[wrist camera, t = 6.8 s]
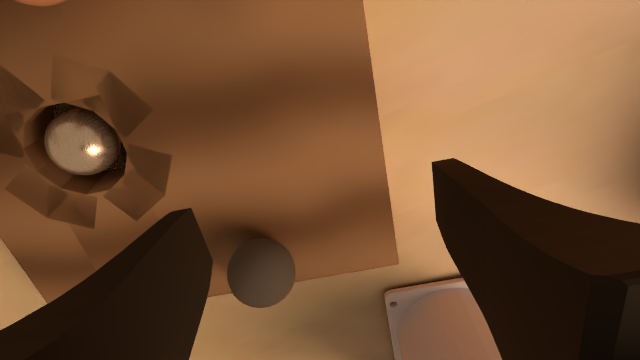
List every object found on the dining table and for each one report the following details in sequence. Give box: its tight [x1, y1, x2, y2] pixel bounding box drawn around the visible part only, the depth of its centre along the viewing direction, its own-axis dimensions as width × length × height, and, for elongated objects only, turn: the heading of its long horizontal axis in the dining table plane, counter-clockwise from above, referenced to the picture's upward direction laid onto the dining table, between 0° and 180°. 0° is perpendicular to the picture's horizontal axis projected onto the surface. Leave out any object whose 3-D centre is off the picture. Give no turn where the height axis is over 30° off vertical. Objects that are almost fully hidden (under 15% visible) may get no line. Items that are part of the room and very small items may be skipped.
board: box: [0, 0, 399, 303], centre depth 20 cm, size 20×20×2 cm
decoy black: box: [227, 238, 296, 308], centre depth 20 cm, size 3×3×3 cm
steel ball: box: [44, 108, 121, 175], centre depth 20 cm, size 3×3×3 cm
